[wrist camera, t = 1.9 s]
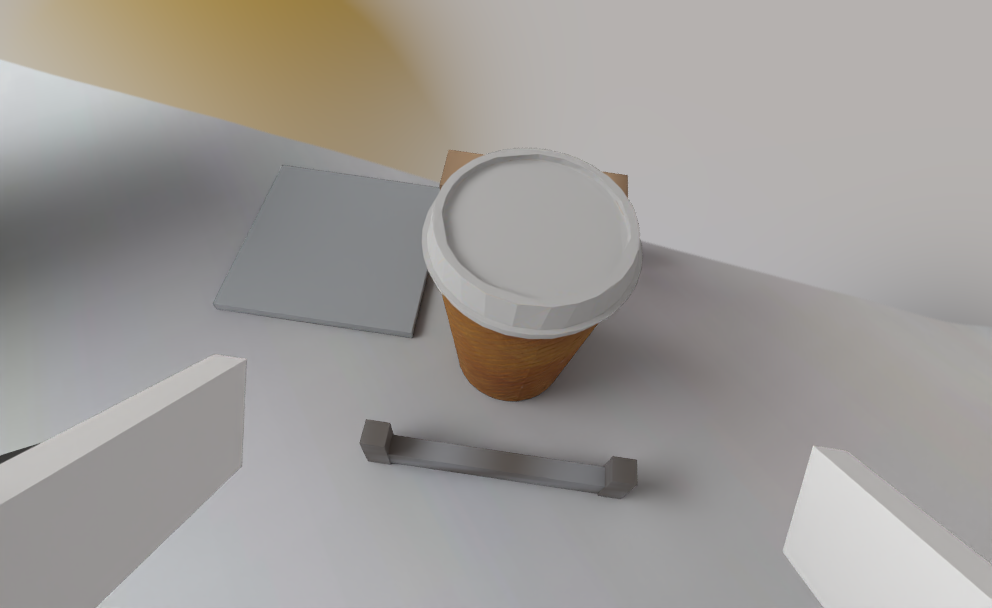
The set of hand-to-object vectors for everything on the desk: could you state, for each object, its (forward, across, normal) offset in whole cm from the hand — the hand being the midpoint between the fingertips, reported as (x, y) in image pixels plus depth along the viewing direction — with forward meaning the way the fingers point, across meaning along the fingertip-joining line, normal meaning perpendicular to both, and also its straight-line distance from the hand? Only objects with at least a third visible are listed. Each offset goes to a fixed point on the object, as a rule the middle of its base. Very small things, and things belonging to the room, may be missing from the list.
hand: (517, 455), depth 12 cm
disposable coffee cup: (+19, 0, -4) cm, 20 cm away
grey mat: (+23, -12, +1) cm, 26 cm away
